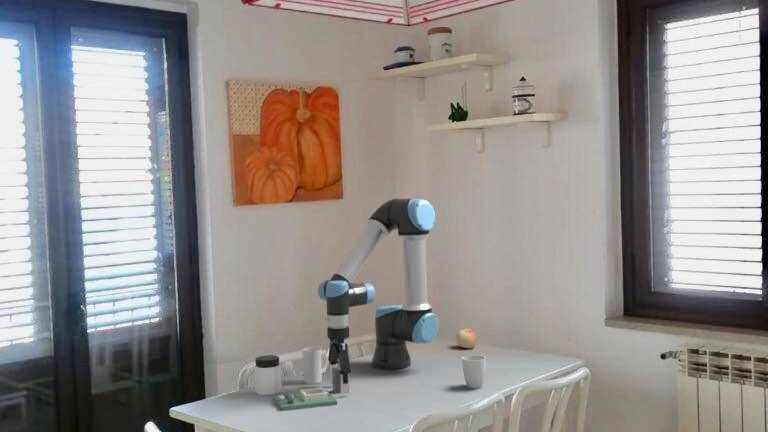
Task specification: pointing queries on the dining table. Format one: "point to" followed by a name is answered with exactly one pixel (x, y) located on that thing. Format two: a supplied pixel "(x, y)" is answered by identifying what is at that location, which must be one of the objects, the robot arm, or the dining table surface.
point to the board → (305, 399)
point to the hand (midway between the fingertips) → (339, 387)
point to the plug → (336, 380)
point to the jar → (267, 375)
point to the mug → (313, 364)
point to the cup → (474, 370)
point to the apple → (466, 338)
